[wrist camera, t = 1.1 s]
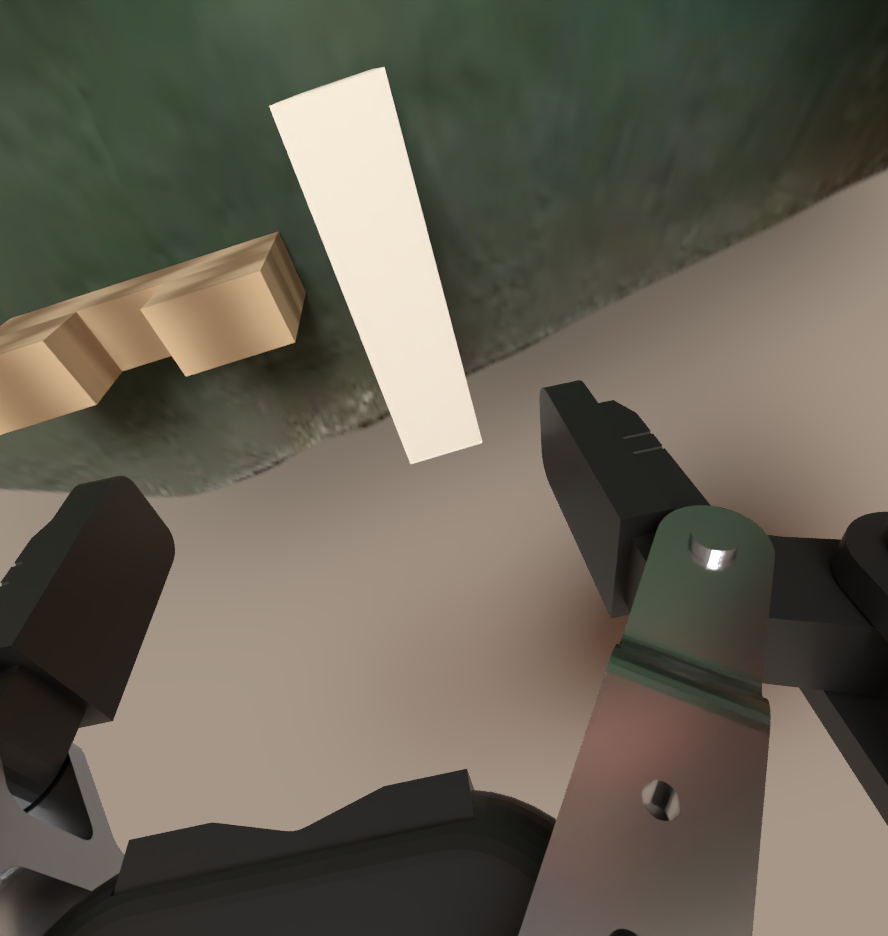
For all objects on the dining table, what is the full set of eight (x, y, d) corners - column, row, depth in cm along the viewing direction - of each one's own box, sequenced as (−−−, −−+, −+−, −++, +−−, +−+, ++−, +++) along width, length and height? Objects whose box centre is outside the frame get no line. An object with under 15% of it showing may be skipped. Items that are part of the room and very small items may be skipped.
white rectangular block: (301, 92, 24) (268, 105, 14) (371, 69, 23) (384, 66, 14) (394, 352, 32) (410, 464, 23) (445, 336, 32) (482, 442, 23)
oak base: (278, 231, 27) (260, 270, 22) (305, 292, 29) (295, 342, 24) (10, 318, 28) (-72, 377, 22) (56, 371, 30) (-9, 437, 25)
